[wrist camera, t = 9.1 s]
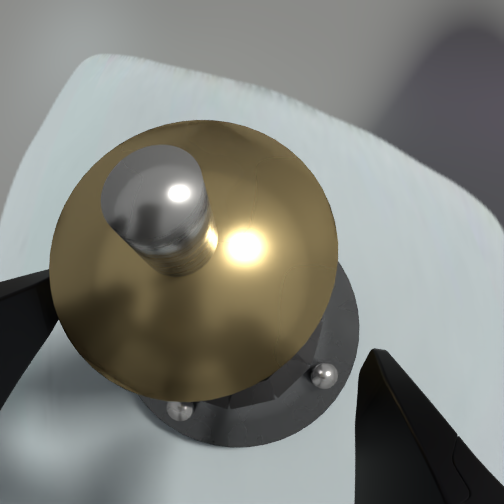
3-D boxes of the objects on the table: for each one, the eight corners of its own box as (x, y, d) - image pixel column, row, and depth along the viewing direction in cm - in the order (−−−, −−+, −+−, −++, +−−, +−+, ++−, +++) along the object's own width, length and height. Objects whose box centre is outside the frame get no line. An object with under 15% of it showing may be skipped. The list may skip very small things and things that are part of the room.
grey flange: (377, 405, 16) (402, 412, 13) (150, 456, 15) (130, 473, 12) (315, 197, 21) (325, 168, 17) (112, 244, 20) (89, 222, 16)
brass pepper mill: (295, 336, 17) (448, 234, 3) (223, 387, 16) (90, 490, 2) (244, 268, 18) (218, 27, 4) (174, 316, 17) (-23, 177, 3)
